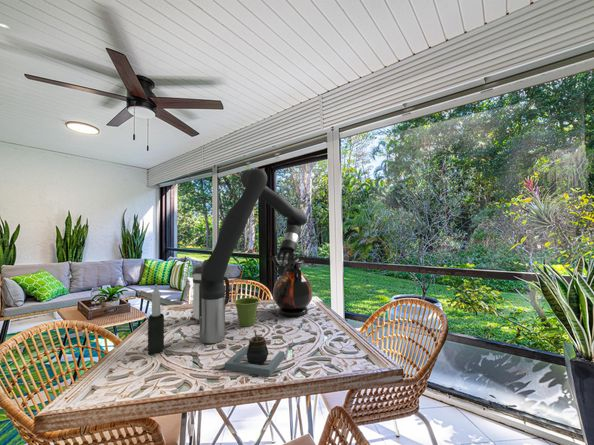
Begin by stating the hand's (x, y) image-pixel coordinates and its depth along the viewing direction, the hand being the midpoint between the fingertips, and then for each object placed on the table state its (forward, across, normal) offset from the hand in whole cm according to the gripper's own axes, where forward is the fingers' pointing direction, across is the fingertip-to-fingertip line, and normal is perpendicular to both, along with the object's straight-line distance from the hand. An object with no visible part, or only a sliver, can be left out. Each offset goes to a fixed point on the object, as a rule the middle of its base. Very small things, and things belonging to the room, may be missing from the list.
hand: (280, 275), depth 118 cm
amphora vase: (-6, -6, +43) cm, 43 cm away
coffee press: (+10, -44, +27) cm, 53 cm away
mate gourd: (+35, 0, +2) cm, 35 cm away
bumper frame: (+34, 0, +2) cm, 35 cm away
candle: (+37, -40, 0) cm, 54 cm away
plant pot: (+11, -21, +26) cm, 35 cm away
